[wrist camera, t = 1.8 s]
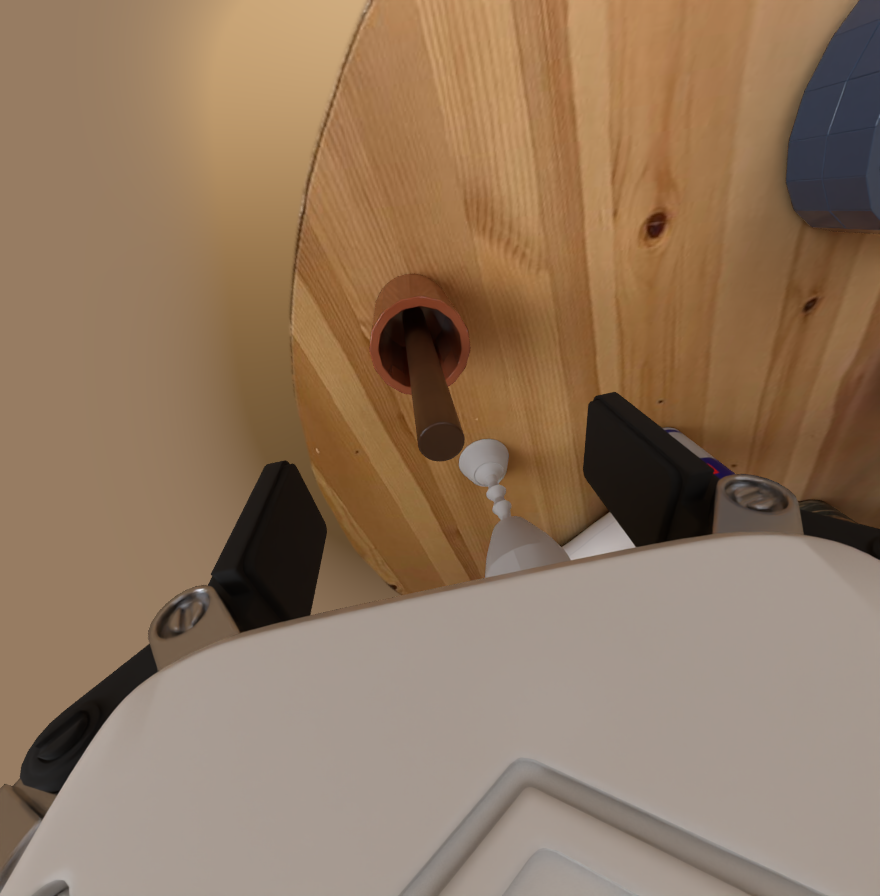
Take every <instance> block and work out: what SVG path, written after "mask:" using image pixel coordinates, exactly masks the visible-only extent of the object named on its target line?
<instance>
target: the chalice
mask: <svg viewBox="0 0 880 896" xmlns="http://www.w3.org/2000/svg"><path fill="white" fill-rule="evenodd" d="M508 458H509V454H508V450H507V448H506V447H505V446H504V444H502V443H500V442H499V441H497V440H492V439H483V440H479V441H476V442H474V443H472V444H471V445H469V446H468V447H466V449H465V450H464V451H463V452H462V454H461V456H460V459H459V467H460V470H461V472H462V473H463V474H464V475H465V476H466V477H468V478H469V479H470V480H471V481H472V482H473V483H475V484H477V485H479V486H489V490H488V491H487V494H486V495H487V498H488V499H490V500H493V501H494V507H493V512H494V514H496V515H498V517H499V518H500V520H501V521H500V522H499V523H498V524H497V525H496V526H495V527H494V529H493V533H492V537H491V541H490V545H489V549H488V554H487V560H486V571H485V578H487V577H492V576H497V575H502V574H507V573H511V572H516V571H521V570H526V569H531V568H536V567H541V566H545V565H550V564H555V563H560V562H565V561H570V558H569V556H568V554H567V553H566V552H565V550H564V549H563V548H562V547H561V546H560V545H559V544H557V543H556V542H555V541H554V540H553V539H552V538H551V537H550V536H549V535H548V534H546V533H545V532H543V531H542V530H540V529H539V528H537V527H536V526H534V525H533V524H531V523H530V522H528V521H527V520H525V519H523V518H521V517H517V516H513V517H511V514H510V509H511V503H510V502H508V501H506V500H505V499H504V495H505V493H506V489H505V487H504V486H502V485H499V484H498V483H499V482H500V481H501V480H502V479H503V478H504V476H505V474H506V472H507V464H508Z"/></svg>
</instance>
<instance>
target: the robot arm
mask: <svg viewBox="0 0 880 896" xmlns="http://www.w3.org/2000/svg"><path fill="white" fill-rule="evenodd" d="M583 472H584V476H585V478H586V480H587V481H588V483H589V484H590V485H591V487H592V488H593V490H594V491H595V492H596V494H597V495H598V496H599V498H600V499H601V500H602V502H603V503H604V504H605V506H606V507H607V509H608V510H609V511H610V513H611V514H612V515H613V517H614V518H615V519H616V521H617V522H618V523H619V525H620V526H621V528H622V529H623V530H624V532H625V533H626V534H627V536H628V537H629V538H630V540H631V541H632V543H633V544H634V545H635V548H630V549H624V550H619V551H615V552H610V553H605V554H600V555H595V556H590V557H585V558H580V559H575V560H570V561H565V562H560V563H555V564H550V565H545V566H541V567H536V568H531V569H526V570H521V571H516V572H511V573H507V574H502V575H497V576H492V577H487V578H483V579H478V580H473V581H468V582H463V583H459V584H454V585H449V586H444V587H439V588H435V589H430V590H425V591H420V592H416V593H411V594H406V595H402V596H397V597H392V598H388V599H383V600H378V601H374V602H369V603H364V604H360V605H355V606H350V607H346V608H341V609H336V610H332V611H328V612H323V613H319V614H315V615H310V614H311V608H312V604H313V599H314V594H315V588H316V584H317V579H318V574H319V569H320V564H321V559H322V554H323V549H324V544H325V539H326V534H327V528H326V524H325V521H324V520H323V518H322V516H321V514H320V512H319V510H318V508H317V506H316V504H315V502H314V500H313V498H312V496H311V494H310V492H309V490H308V488H307V486H306V485H305V483H304V481H303V479H302V477H301V475H300V473H299V471H298V469H297V467H296V466H295V465H294V464H289V462H287V461H280V462H276V463H271V464H267V465H266V466H265V467H264V469H263V471H262V473H261V475H260V477H259V479H258V481H257V483H256V485H255V487H254V489H253V491H252V493H251V495H250V497H249V499H248V501H247V504H246V505H245V507H244V509H243V511H242V513H241V515H240V517H239V519H238V521H237V523H236V525H235V527H234V529H233V531H232V533H231V535H230V537H229V539H228V541H227V543H226V545H225V547H224V549H223V551H222V553H221V555H220V557H219V559H218V561H217V563H216V565H215V567H214V569H213V571H212V573H211V575H212V578H211V580H210V582H209V584H208V586H207V585H201V586H195V587H193V588H190V589H187V590H185V591H183V592H182V593H180V594H178V595H177V596H175V597H174V598H173V599H171V600H170V601H169V602H168V603H166V604H165V606H164V607H163V608H162V609H161V610H160V611H159V612H158V613H157V615H156V616H155V618H154V619H153V621H152V623H151V625H150V628H149V630H148V639H149V642H150V644H149V645H147V646H146V647H145V648H144V649H143V650H141V651H140V652H138V653H137V654H136V655H135V656H133V657H132V658H131V659H130V660H128V661H127V662H126V663H124V664H123V665H122V666H121V667H119V668H118V669H117V670H116V671H114V672H113V673H112V674H111V675H109V676H108V677H107V678H105V679H104V680H103V681H102V682H100V683H99V684H98V685H96V686H95V687H94V688H93V689H92V690H90V691H89V692H88V693H86V694H85V695H84V696H83V697H81V698H80V699H79V700H78V701H76V702H75V703H74V704H72V705H71V706H70V707H69V708H67V709H66V710H65V711H64V712H62V713H61V714H60V715H59V716H58V717H57V718H56V719H55V720H53V721H52V722H51V723H50V724H49V725H48V726H47V727H46V728H45V730H44V731H43V732H42V733H41V734H40V735H39V736H38V738H37V739H36V740H35V742H34V744H33V745H32V746H31V748H30V749H29V751H28V752H27V755H26V757H25V759H24V761H23V763H22V767H21V773H20V779H19V780H18V781H17V782H16V783H15V784H14V785H13V786H11V785H7V784H4V785H3V786H2V787H1V788H0V896H880V529H877V528H873V527H869V526H865V525H861V524H857V523H853V522H849V521H845V520H841V519H837V518H833V517H829V516H825V515H822V514H818V513H814V512H810V511H806V510H802V509H799V503H798V501H797V499H796V497H795V495H794V494H793V493H792V492H790V491H789V490H788V489H787V488H785V487H784V486H782V485H780V484H779V483H777V482H774V481H772V480H769V479H767V478H763V477H759V476H755V475H747V474H732V475H729V476H725V477H723V478H722V479H720V478H718V477H717V476H716V475H715V474H713V472H714V469H713V468H712V467H711V466H709V465H708V464H707V463H706V462H704V461H703V460H702V459H700V458H699V457H698V456H697V455H695V454H694V453H693V452H692V451H690V450H689V449H688V448H687V447H685V446H684V445H683V444H681V443H680V442H679V441H678V440H676V439H675V438H674V437H673V436H671V435H670V434H669V433H667V432H666V431H665V430H664V429H662V428H661V427H660V426H659V425H657V424H656V423H655V422H654V421H652V420H651V419H650V418H648V417H647V416H646V415H645V414H643V413H642V412H641V411H640V410H638V409H637V408H636V407H635V406H633V405H632V404H631V403H629V402H628V401H627V400H626V399H624V398H623V397H622V396H621V395H619V394H618V393H616V392H612V393H607V394H603V395H598V396H596V397H595V398H594V400H593V401H591V402H590V403H589V406H588V416H587V428H586V441H585V453H584V465H583Z"/></svg>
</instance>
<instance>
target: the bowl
mask: <svg viewBox="0 0 880 896" xmlns="http://www.w3.org/2000/svg"><path fill="white" fill-rule="evenodd" d="M789 141H790V142H789V144H788V158H787V172H786V184H787V188H788V191H789V195H790V199H791V202H792V206H793V209H794V211H795V212H796V213H797V214H798V215H799V216H800V217H801V218H802V219H803V220H804V221H806V222H807V223H808V224H809V225H810V226H811V227H813V228H818V229H823V230H828V231H832V232H844V233H864V234H880V0H859V1H858V3H857V4H856V6H855V7H854V8H853V10H852V11H851V12H850V14H849V15H848V16H847V18H846V19H845V21H844V22H843V23H842V25H841V26H840V27H839V29H838V30H837V32H836V33H835V34H834V36H833V38H832V39H831V41H830V43H829V45H828V47H827V49H826V50H825V52H824V54H823V56H822V58H821V60H820V62H819V64H818V66H817V68H816V70H815V72H814V74H813V76H812V78H811V80H810V82H809V83H808V85H807V87H806V89H805V91H804V94H803V97H802V100H801V104H800V107H799V110H798V113H797V116H796V120H795V123H794V126H793V129H792V132H791V136H790V139H789Z"/></svg>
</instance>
